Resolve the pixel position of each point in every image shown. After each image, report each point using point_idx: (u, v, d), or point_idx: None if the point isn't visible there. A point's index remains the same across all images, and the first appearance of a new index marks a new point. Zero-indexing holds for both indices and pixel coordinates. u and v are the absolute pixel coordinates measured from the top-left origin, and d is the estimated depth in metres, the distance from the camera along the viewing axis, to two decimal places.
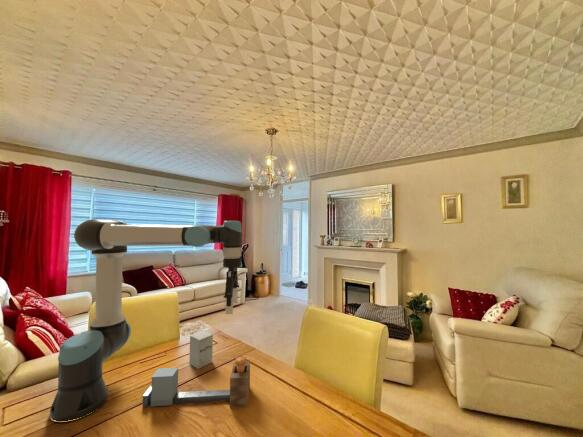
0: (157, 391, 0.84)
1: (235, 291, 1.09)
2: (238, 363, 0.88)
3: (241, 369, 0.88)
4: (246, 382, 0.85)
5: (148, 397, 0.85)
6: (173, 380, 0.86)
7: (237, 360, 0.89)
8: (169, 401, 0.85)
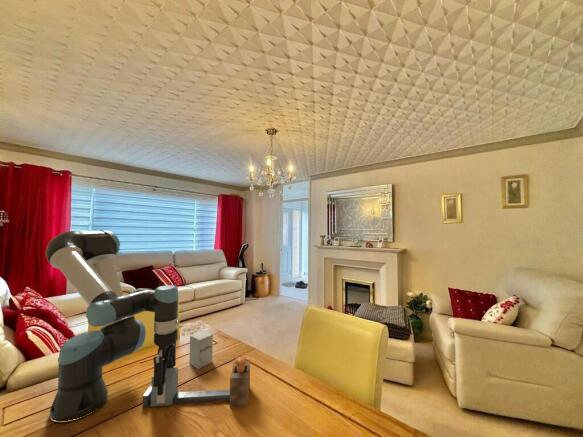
0: None
1: None
2: (238, 363, 0.88)
3: (241, 369, 0.88)
4: (246, 382, 0.85)
5: (148, 397, 0.85)
6: (173, 380, 0.86)
7: (237, 360, 0.89)
8: (169, 401, 0.85)
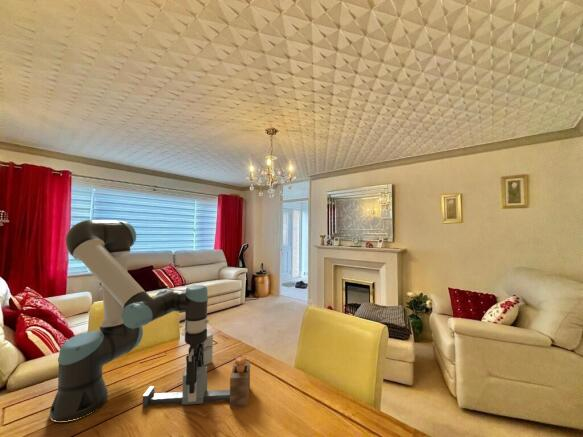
0: None
1: None
2: (238, 363, 0.88)
3: (241, 369, 0.88)
4: (246, 382, 0.85)
5: (148, 397, 0.85)
6: (204, 379, 0.87)
7: (237, 360, 0.89)
8: (200, 399, 0.86)
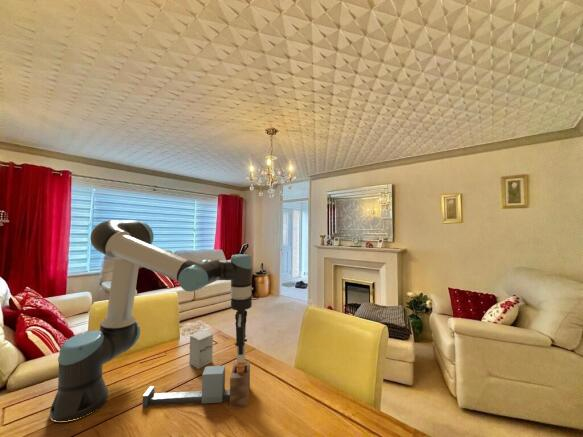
0: (207, 389, 0.86)
1: None
2: (238, 366, 0.88)
3: (240, 372, 0.88)
4: (246, 382, 0.85)
5: (148, 397, 0.85)
6: (222, 378, 0.87)
7: (237, 363, 0.89)
8: (219, 398, 0.86)
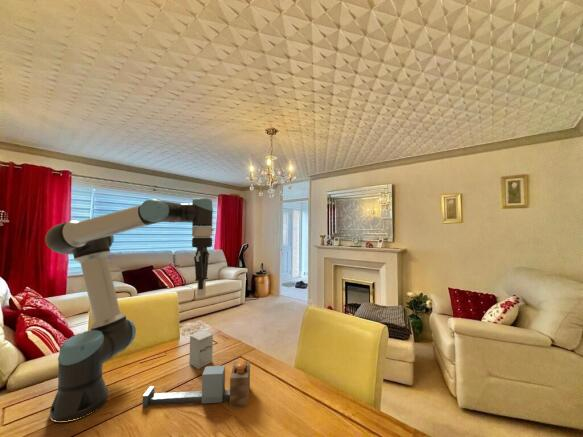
0: (207, 389, 0.86)
1: None
2: (238, 368, 0.88)
3: None
4: (246, 382, 0.85)
5: (148, 397, 0.85)
6: (222, 378, 0.87)
7: (237, 365, 0.89)
8: (219, 398, 0.86)
